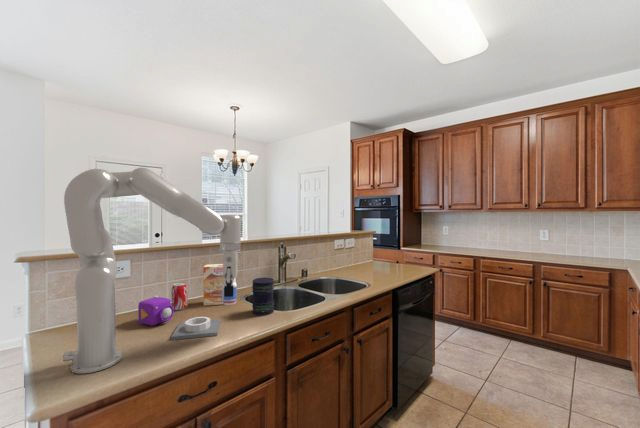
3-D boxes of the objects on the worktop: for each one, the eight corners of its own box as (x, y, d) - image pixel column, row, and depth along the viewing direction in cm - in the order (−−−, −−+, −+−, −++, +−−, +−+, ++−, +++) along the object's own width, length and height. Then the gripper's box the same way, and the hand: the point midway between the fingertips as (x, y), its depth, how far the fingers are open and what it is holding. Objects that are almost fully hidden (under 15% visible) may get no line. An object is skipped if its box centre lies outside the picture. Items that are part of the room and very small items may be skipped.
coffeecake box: (203, 305, 144) (203, 266, 144) (205, 301, 151) (205, 264, 151) (234, 303, 147) (234, 265, 147) (235, 299, 154) (235, 263, 154)
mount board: (171, 340, 106) (170, 330, 106) (180, 325, 120) (180, 316, 120) (217, 335, 110) (217, 325, 110) (220, 321, 123) (220, 313, 123)
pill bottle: (239, 303, 111) (239, 277, 111) (226, 306, 108) (227, 279, 107) (231, 299, 115) (232, 275, 115) (219, 302, 111) (219, 277, 111)
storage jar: (277, 312, 134) (277, 280, 134) (257, 317, 128) (257, 283, 128) (268, 307, 142) (268, 276, 142) (249, 310, 137) (249, 279, 136)
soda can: (183, 311, 136) (183, 285, 136) (168, 311, 136) (168, 285, 136) (190, 306, 143) (190, 282, 143) (176, 306, 143) (176, 282, 143)
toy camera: (162, 328, 116) (162, 303, 116) (133, 325, 119) (133, 301, 119) (180, 318, 127) (180, 296, 127) (153, 316, 130) (153, 294, 130)
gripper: (239, 249, 104) (238, 300, 104) (241, 244, 121) (240, 288, 121) (217, 249, 102) (216, 301, 102) (222, 244, 119) (221, 288, 119)
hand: (229, 293), depth 111 cm, fingers closed on pill bottle, 5 cm apart
